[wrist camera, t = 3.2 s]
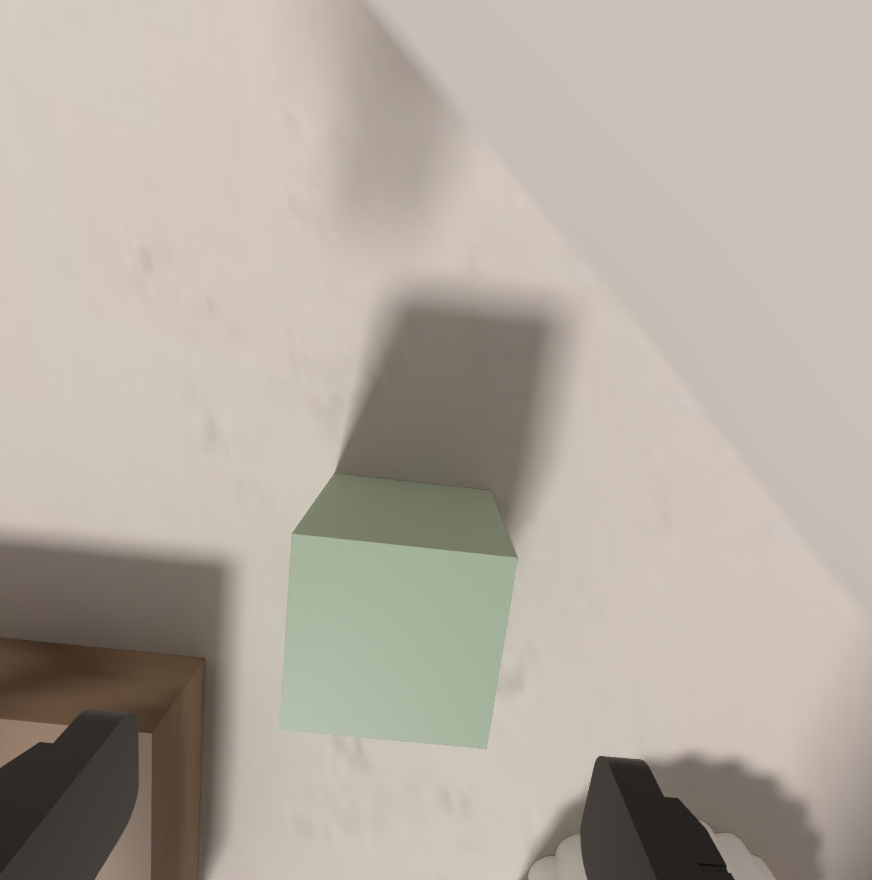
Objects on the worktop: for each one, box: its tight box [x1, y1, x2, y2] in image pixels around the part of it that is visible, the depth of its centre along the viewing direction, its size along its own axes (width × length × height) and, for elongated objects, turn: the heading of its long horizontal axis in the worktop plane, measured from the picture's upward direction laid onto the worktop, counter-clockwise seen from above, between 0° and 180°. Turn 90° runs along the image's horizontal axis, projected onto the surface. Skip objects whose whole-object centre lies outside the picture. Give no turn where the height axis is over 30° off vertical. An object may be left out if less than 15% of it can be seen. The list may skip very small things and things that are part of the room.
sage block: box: [279, 473, 518, 749], centre depth 15 cm, size 6×6×6 cm
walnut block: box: [0, 638, 205, 880], centre depth 18 cm, size 12×12×4 cm
